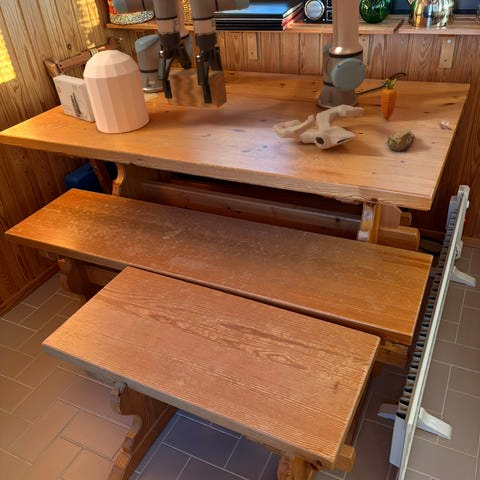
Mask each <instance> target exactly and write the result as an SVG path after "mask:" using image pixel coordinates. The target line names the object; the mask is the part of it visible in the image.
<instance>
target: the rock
mask: <svg viewBox="0 0 480 480" xmlns="http://www.w3.org/2000/svg"><path fill="white" fill-rule="evenodd" d="M415 139H416V135H415V134H414V132H412V131H411V130H408V129H407V130H404V131H398V132H396V133H394V134H393V135H392V134H391V135H389V136H388V137H387V143H388V145H387V146H388V147H389V149H391V150H392V151H395V152H404V151H406V150H407V148H409V145H410V144H411V143H412V142H413V141H414V140H415Z"/></svg>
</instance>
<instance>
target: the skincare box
mask: <svg viewBox="0 0 480 480" xmlns="http://www.w3.org/2000/svg"><path fill="white" fill-rule="evenodd" d="M52 79H53V83H54V85H55V89H56V92H57V94H58V97H59V101H60V104H61V106H62V110H63V112H64V114H65V115H67V116H71V117H74V118H77V119H80V120H83V121H87V122H90V123H94V122H96V121H95V117H94V113H93V110H92V106H91V102H90V98H89V95H88V91H87V87H86V84H85V80H84V78H78V77H74V76H70V75H66V74H60V75H58V76H54V77H52Z"/></svg>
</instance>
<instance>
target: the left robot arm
mask: <svg viewBox="0 0 480 480" xmlns="http://www.w3.org/2000/svg"><path fill="white" fill-rule="evenodd" d="M111 1H112V6H113V9H114V11H115V13H116V14H119V15H122V14H126V15H128V14H134V13H142V12H151V11H154V13H155V21H156V28H157V32H158V33H159V34H157V33H156V34H149V35H145V36H142V37H140V38H138V39H137V40H135V42H134V49H135V54H136V59H137V65H138V67H139V72H140V77H141V82H142V87H143V92H144V94H145V93H146V94H152V93H160V92H164V98H165V99H167V98H169V99H172V92H171V86H170V80H168V77H169V72H170V71H171V67H172V64H179V65H180V66H181V67H182V69H184V70H192V66H193V62H192V61H193V59H194V58H193V57H194V45H193V44H194V42H193V39H194V37H193V35H192V34H190V33H189V29H187V28H186V27H185V21H184V20H185V19H184V14H183V13H184V12H183V7H182V0H111Z"/></svg>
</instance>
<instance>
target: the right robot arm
mask: <svg viewBox="0 0 480 480" xmlns="http://www.w3.org/2000/svg"><path fill="white" fill-rule="evenodd" d="M189 6H190V7H189V8H190V13H191V19H192V28H193V33H194V42H195V46H196V47H198V48H199V49H198V50H199V51H198V54H195V56H194V60H195V64H196V70H197V80H198V85H201V86H202V89H203V96H204V103H208V104H211V103H212V99H211V91H210V85H208V77H209V71H210V69H211V71H224V67H223V62H222V58H221V47H220V46H219V45H217V44H218V35H217V32H216V30H217V27H216V24H217V23H216V20H215V18H216V17H215V13H219V12H231V11H241V10H246V9H249V7H250V0H189ZM359 11H360V0H331V13H332V15H331V17H332V43H331V42H330V43H327V44H325V45H324V46H323V52H322V57H323V58H322V59H323V60H322V87H321V89H320V92H319V95H318V98H317V106H318V107H319V108H320V109H323V110H325V111H326V110H329V109H332V108H334V107H338V106H341V105H348V106H352V107H357V105H358V97H357V96H359V95H363V94H366V93H369V92H373V91H376V90H380V89H382V88H385V87H386V85H387V83H386V82H385V83H384V84H383V85H380V86H377V87H374V88H371V89H368V90H363V91H360V92H356V89H358V88H359V87H360V86H361V85H362V84H363V83H364V81H365V79H366V75H367V69H366V65H365V62H364V46H363V45H362V44H361V43H360V42H359V41H360V39H359V38H360V36H359V35H360V32H359V29H360V26H359V25H360V17H359V16H360V14H359V13H360V12H359ZM399 75H403V76H407V74H406V73H405V72H397V73H394V74H393V75H390V76H388V77H387V79H390V80H391V79H392V78H394V77H396V76H399Z"/></svg>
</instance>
